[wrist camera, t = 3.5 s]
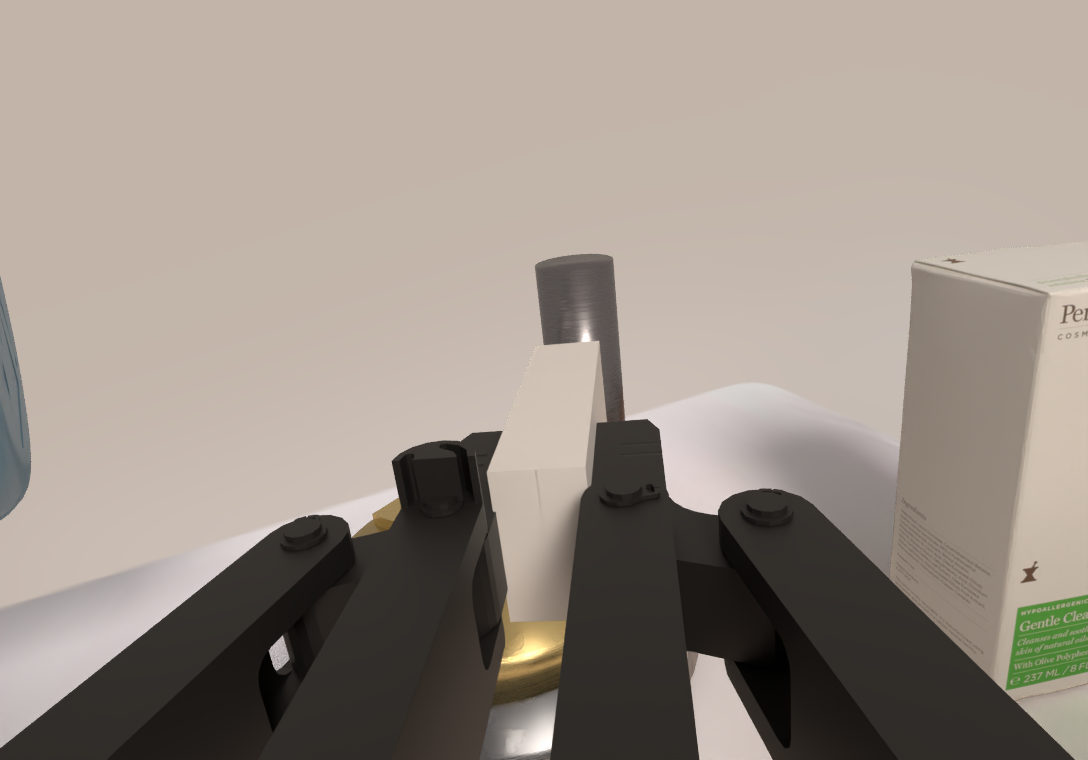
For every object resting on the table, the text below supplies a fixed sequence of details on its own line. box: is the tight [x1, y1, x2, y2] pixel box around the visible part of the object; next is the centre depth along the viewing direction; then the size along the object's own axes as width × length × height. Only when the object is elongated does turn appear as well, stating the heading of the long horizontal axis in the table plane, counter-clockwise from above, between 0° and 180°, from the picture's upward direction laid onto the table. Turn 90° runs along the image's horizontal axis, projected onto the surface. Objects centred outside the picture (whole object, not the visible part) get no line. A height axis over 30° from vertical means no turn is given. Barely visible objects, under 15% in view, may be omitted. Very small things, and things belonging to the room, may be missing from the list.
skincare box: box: [889, 241, 1088, 701], centre depth 27 cm, size 8×7×16 cm
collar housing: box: [289, 651, 698, 760], centre depth 32 cm, size 18×18×5 cm
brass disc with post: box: [352, 254, 625, 705], centre depth 30 cm, size 14×14×15 cm
